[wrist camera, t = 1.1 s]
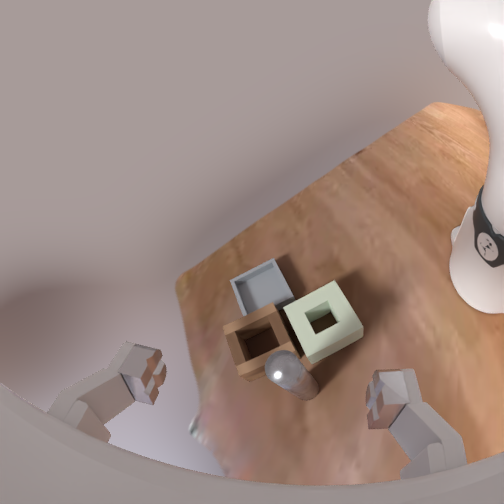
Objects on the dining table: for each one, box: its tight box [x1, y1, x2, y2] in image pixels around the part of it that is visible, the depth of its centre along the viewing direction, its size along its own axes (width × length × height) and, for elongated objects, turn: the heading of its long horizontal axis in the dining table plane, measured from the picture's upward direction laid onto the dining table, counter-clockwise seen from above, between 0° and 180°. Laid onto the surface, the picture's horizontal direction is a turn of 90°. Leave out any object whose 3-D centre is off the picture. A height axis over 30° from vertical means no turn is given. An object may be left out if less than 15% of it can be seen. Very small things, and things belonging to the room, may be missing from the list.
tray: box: [230, 258, 296, 317], centre depth 46 cm, size 8×8×2 cm
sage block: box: [283, 280, 363, 364], centre depth 38 cm, size 8×8×4 cm
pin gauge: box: [265, 350, 319, 401], centre depth 30 cm, size 3×3×14 cm
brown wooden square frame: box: [223, 302, 301, 382], centre depth 39 cm, size 8×8×4 cm
